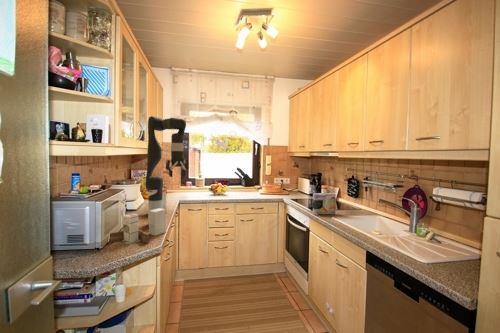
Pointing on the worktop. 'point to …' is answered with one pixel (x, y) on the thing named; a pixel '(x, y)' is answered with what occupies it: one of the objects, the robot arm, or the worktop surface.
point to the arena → (120, 236)
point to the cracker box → (162, 196)
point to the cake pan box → (324, 203)
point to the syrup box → (130, 227)
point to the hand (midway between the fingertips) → (177, 176)
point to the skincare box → (157, 221)
